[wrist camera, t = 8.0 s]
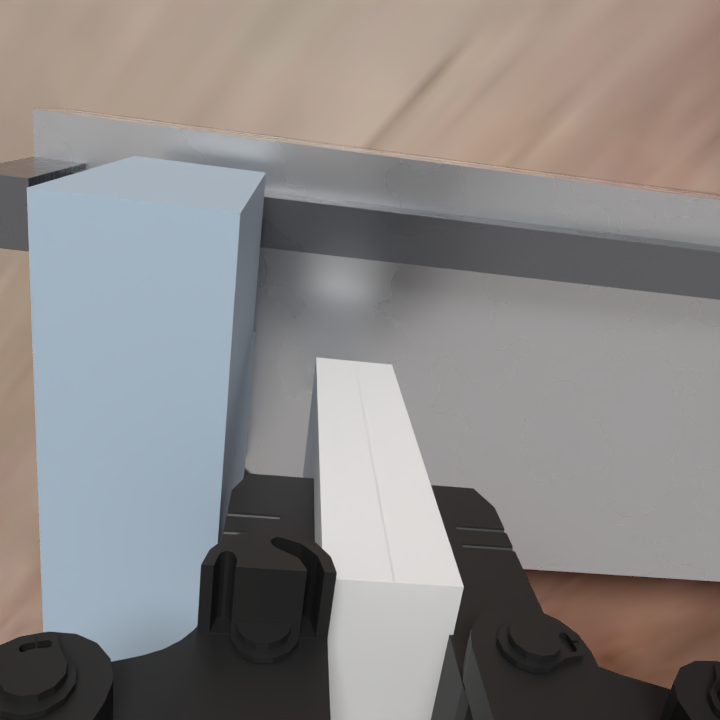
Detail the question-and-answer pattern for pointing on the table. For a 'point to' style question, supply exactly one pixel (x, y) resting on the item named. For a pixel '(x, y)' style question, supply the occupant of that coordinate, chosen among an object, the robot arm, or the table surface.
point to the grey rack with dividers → (475, 327)
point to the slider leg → (139, 388)
